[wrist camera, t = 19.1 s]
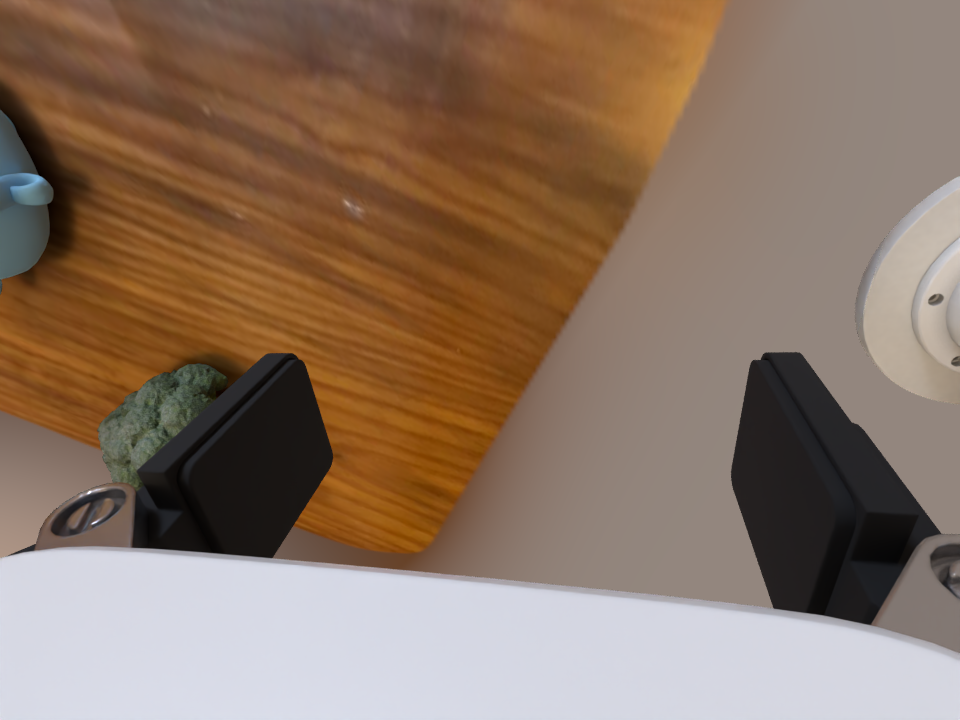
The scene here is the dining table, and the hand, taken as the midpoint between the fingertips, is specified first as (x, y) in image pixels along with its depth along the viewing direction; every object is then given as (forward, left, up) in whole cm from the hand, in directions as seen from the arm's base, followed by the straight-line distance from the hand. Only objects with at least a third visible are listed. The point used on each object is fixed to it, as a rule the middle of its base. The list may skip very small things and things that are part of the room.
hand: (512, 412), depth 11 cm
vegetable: (+32, +19, -26) cm, 46 cm away
